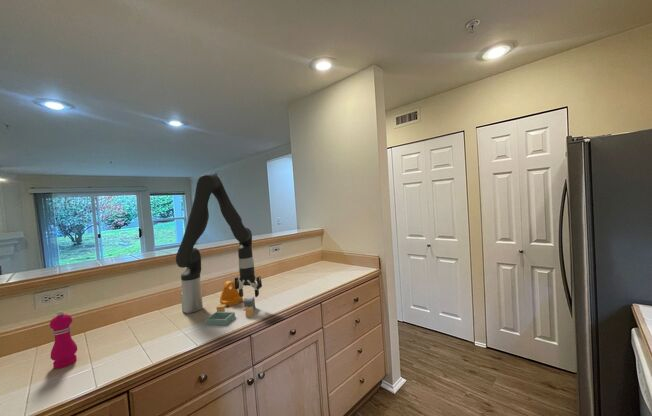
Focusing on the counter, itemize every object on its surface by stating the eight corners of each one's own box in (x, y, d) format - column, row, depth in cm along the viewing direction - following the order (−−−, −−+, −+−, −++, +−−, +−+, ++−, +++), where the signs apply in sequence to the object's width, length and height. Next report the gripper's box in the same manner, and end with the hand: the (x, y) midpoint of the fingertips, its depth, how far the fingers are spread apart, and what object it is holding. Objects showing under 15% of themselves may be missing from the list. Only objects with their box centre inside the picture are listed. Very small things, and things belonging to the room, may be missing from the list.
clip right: (253, 314, 134) (252, 306, 134) (250, 317, 131) (250, 309, 131) (246, 314, 135) (246, 306, 134) (243, 317, 132) (243, 309, 131)
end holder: (206, 324, 126) (205, 319, 126) (216, 316, 134) (215, 311, 134) (225, 325, 124) (225, 319, 124) (235, 317, 132) (234, 312, 132)
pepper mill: (83, 357, 104) (78, 306, 104) (66, 368, 97) (60, 314, 96) (64, 358, 104) (59, 307, 103) (45, 370, 97) (40, 316, 96)
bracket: (224, 307, 146) (222, 285, 145) (220, 304, 151) (218, 283, 151) (243, 301, 152) (242, 280, 152) (238, 298, 158) (237, 278, 158)
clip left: (217, 314, 137) (216, 306, 136) (220, 312, 140) (219, 304, 139) (223, 314, 136) (223, 307, 136) (226, 312, 139) (226, 304, 139)
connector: (244, 310, 140) (243, 299, 139) (248, 307, 144) (247, 296, 143) (251, 310, 139) (250, 299, 139) (255, 307, 143) (254, 296, 143)
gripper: (230, 268, 138) (233, 299, 138) (255, 267, 135) (258, 299, 135) (237, 264, 145) (240, 294, 146) (262, 263, 142) (264, 293, 143)
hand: (249, 296), depth 141 cm, fingers open, 8 cm apart
